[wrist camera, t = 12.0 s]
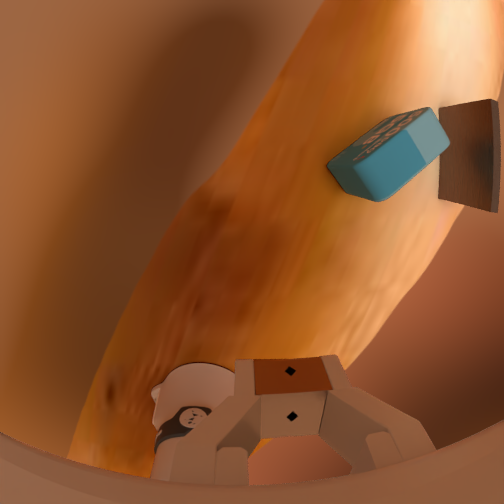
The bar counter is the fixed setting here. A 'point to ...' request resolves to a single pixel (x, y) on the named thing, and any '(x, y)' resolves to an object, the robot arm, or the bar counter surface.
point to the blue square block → (390, 155)
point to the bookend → (471, 155)
